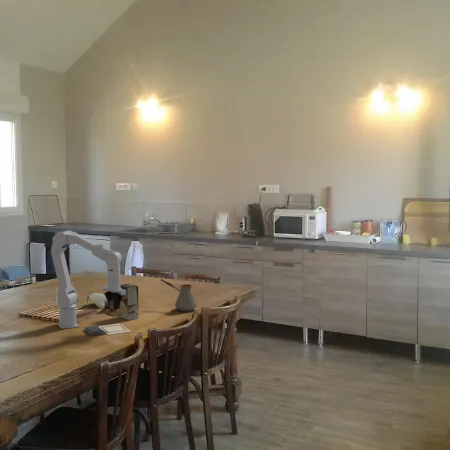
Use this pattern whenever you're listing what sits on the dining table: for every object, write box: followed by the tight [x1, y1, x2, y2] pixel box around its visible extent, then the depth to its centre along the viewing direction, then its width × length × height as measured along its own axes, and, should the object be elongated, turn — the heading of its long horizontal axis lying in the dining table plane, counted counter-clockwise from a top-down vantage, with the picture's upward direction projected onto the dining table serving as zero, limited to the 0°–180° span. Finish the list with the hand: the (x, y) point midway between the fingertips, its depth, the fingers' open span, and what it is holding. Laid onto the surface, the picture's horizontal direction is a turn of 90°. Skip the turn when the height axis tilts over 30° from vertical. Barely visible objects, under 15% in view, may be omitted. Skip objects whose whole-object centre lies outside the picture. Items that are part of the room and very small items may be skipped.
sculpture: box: [86, 292, 140, 310], centre depth 295 cm, size 25×19×10 cm
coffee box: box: [118, 283, 139, 321], centre depth 272 cm, size 9×6×16 cm
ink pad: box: [83, 325, 105, 337], centre depth 247 cm, size 10×6×2 cm, turn 30°
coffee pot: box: [159, 278, 198, 312], centre depth 291 cm, size 21×12×15 cm, turn 65°
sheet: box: [97, 323, 132, 336], centre depth 252 cm, size 15×10×1 cm
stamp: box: [104, 300, 121, 318], centre depth 251 cm, size 6×4×7 cm
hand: (114, 308), depth 251 cm, fingers closed on stamp, 3 cm apart
